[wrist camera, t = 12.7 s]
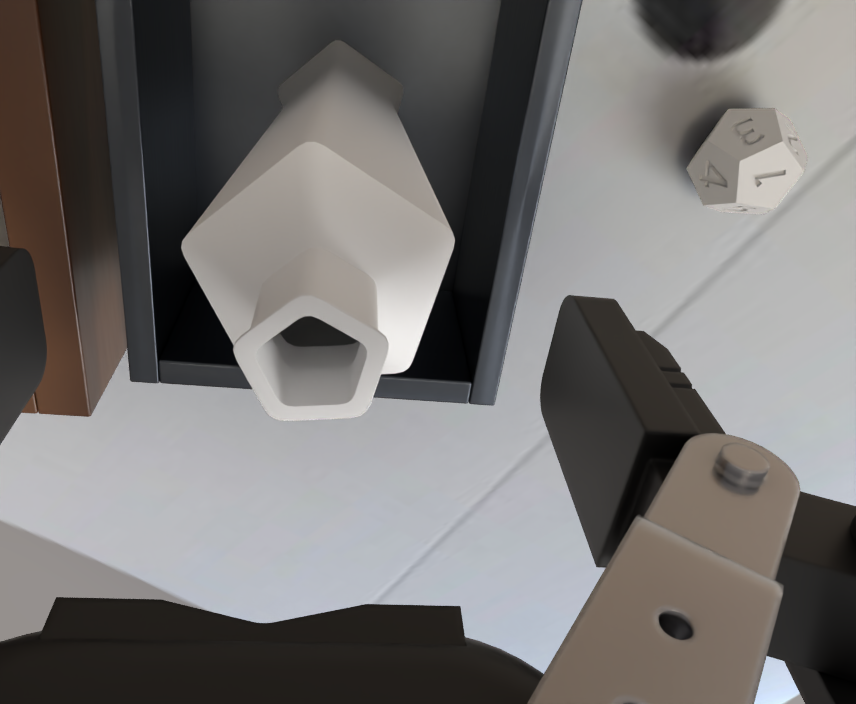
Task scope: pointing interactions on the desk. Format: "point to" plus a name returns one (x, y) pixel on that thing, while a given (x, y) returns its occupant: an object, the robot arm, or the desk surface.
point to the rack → (62, 194)
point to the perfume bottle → (324, 244)
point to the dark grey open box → (259, 106)
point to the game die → (748, 161)
